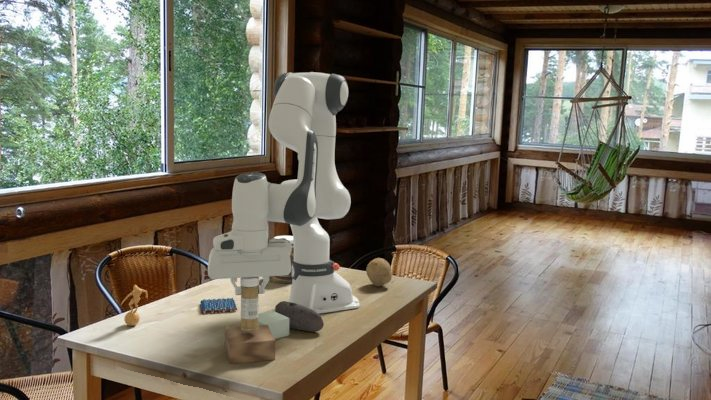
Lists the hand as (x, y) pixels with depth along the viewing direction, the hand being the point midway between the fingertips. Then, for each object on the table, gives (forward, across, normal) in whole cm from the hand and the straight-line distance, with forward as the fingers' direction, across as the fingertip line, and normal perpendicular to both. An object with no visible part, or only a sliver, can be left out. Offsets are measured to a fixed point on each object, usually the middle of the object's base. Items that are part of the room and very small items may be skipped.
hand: (249, 293), depth 157 cm
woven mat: (+16, +4, -37) cm, 41 cm away
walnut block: (+15, 0, 0) cm, 15 cm away
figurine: (+16, +28, -26) cm, 41 cm away
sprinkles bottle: (+9, 0, 0) cm, 9 cm away
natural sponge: (+15, -52, -49) cm, 73 cm away
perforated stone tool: (+16, -16, -14) cm, 26 cm away
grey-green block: (+16, -7, -12) cm, 21 cm away
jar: (+16, -22, -64) cm, 69 cm away
